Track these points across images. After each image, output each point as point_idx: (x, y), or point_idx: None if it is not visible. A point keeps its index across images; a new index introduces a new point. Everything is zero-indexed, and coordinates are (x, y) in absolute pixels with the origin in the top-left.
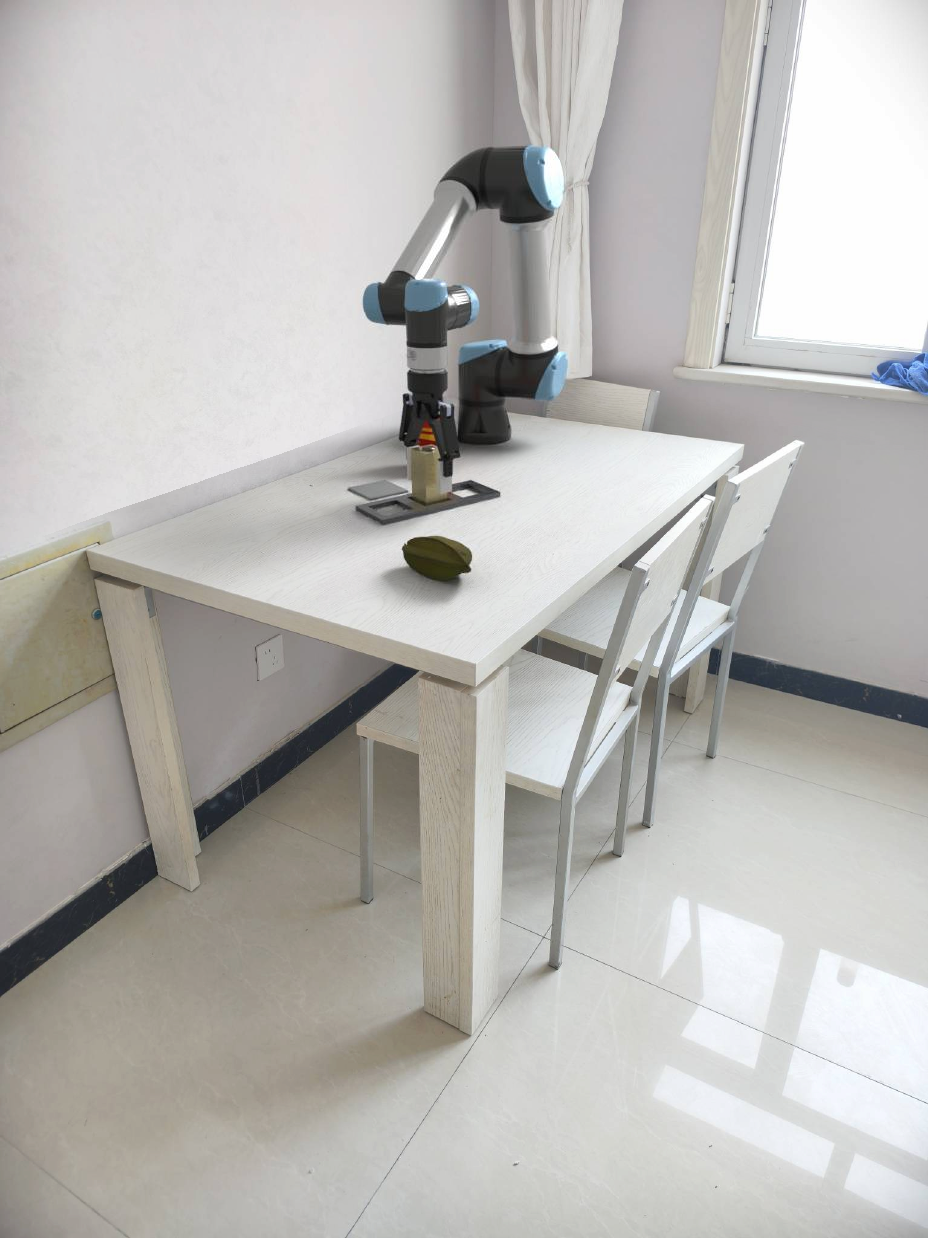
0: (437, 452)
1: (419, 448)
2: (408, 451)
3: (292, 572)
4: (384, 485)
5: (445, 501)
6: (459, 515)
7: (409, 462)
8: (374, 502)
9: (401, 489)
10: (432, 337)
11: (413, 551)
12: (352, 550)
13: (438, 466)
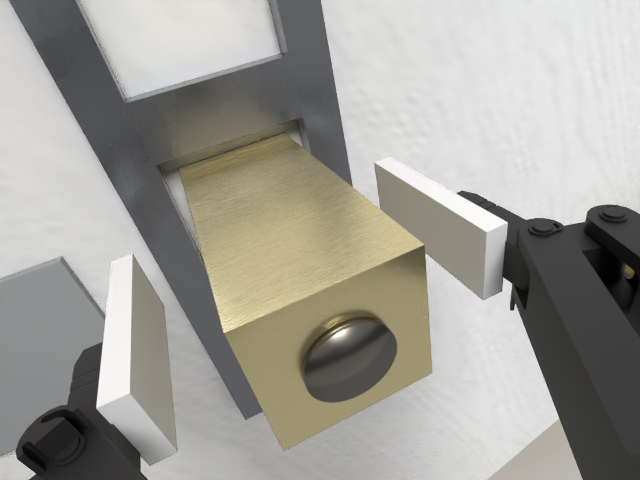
0: (424, 305)
1: (305, 406)
2: (172, 431)
3: (478, 441)
4: None
5: (311, 152)
6: (408, 126)
7: (168, 370)
8: (232, 378)
9: (40, 287)
10: None
11: None
12: (460, 384)
13: (460, 276)
